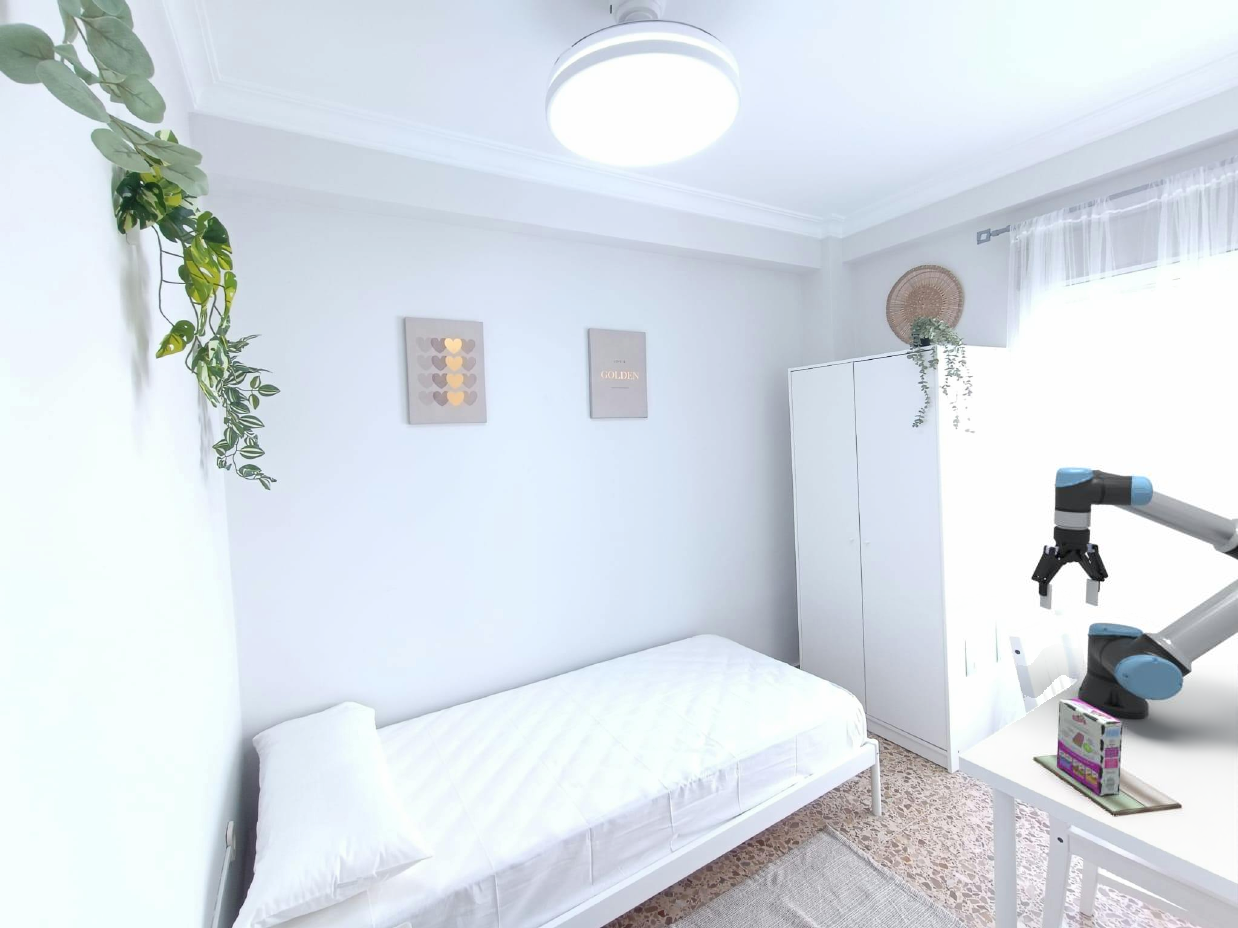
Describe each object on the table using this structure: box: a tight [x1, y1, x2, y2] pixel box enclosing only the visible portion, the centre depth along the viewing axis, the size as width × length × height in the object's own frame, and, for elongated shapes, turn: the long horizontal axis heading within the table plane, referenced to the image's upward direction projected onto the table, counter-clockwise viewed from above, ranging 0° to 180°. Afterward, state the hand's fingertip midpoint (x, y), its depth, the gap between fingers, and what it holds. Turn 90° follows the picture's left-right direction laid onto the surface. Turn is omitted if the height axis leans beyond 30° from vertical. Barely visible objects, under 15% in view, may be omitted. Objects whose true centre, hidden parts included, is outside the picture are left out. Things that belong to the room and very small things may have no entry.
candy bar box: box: [1056, 698, 1124, 796], centre depth 129 cm, size 11×5×16 cm, turn 7°
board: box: [1033, 754, 1183, 817], centre depth 131 cm, size 16×20×1 cm
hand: (1068, 606), depth 153 cm, fingers open, 13 cm apart
